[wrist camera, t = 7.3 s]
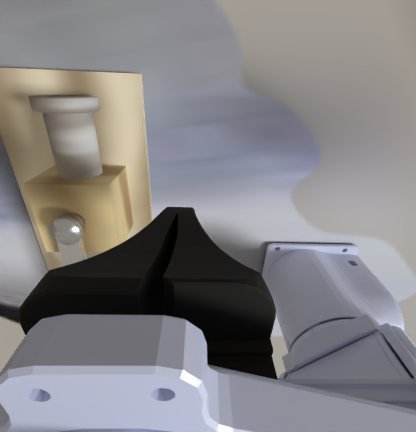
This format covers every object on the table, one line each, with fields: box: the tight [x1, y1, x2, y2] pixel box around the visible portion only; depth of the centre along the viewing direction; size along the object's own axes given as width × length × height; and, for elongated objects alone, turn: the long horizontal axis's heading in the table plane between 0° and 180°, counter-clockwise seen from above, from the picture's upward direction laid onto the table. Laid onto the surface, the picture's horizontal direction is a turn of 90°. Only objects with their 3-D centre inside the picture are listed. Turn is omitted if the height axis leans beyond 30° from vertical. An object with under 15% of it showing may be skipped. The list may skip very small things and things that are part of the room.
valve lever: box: [49, 215, 87, 266], centre depth 19 cm, size 12×2×2 cm, turn 177°
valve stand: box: [0, 68, 153, 271], centre depth 20 cm, size 11×19×6 cm, turn 178°
